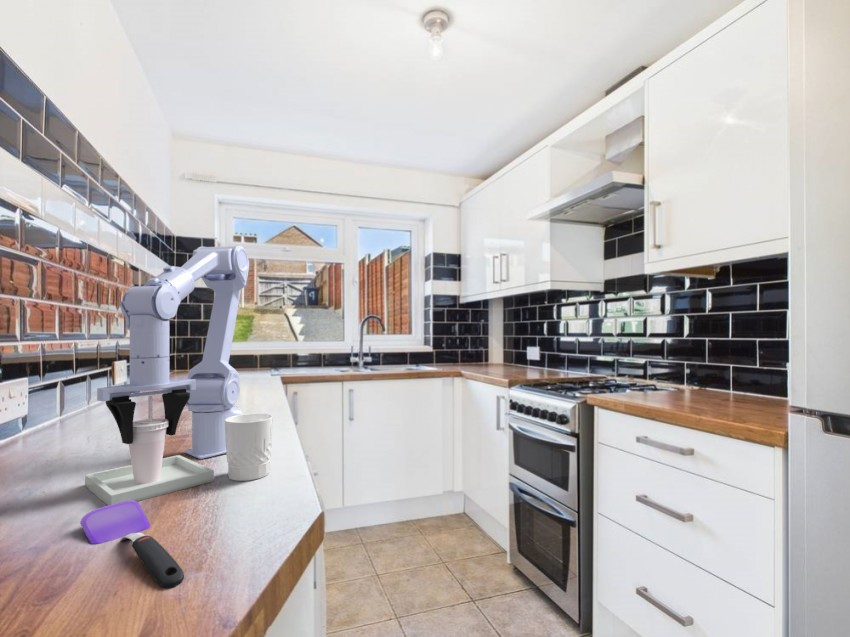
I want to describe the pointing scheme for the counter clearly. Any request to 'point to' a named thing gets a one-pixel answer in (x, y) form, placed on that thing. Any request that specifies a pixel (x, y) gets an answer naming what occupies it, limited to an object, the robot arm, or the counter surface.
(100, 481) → the tray
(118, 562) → the counter surface
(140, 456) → the smoothie
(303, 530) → the counter surface
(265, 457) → the white cup
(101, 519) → the spatula
